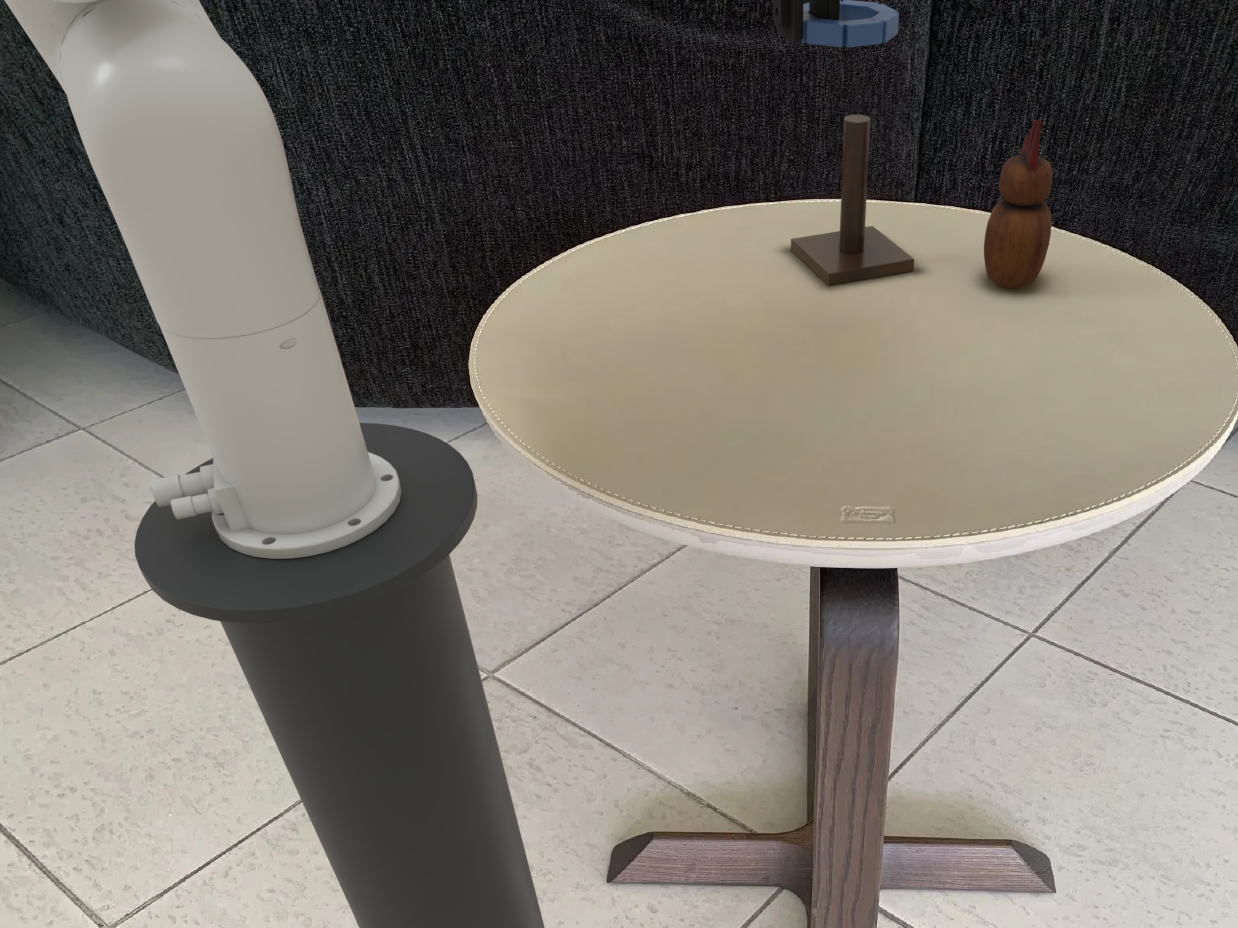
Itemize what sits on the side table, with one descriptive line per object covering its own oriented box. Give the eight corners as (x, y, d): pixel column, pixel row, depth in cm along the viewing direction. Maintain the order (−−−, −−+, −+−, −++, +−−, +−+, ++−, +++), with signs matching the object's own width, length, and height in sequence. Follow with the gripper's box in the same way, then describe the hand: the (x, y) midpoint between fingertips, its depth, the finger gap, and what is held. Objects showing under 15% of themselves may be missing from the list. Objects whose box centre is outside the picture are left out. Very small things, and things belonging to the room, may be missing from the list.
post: (828, 286, 100) (832, 139, 91) (790, 250, 106) (791, 110, 98) (913, 271, 103) (925, 127, 94) (872, 237, 109) (879, 99, 100)
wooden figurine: (1035, 300, 98) (1062, 128, 88) (973, 290, 99) (993, 120, 90) (1047, 271, 103) (1075, 106, 93) (988, 262, 104) (1010, 99, 95)
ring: (815, 51, 74) (815, 29, 73) (775, 26, 80) (775, 5, 79) (913, 40, 77) (914, 19, 76) (867, 17, 82) (868, -4, 81)
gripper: (705, -293, 60) (720, 60, 72) (952, -294, 65) (927, 38, 77) (666, -295, 66) (686, 35, 78) (897, -296, 70) (882, 16, 82)
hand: (806, 34), depth 77 cm, fingers closed on ring, 1 cm apart
